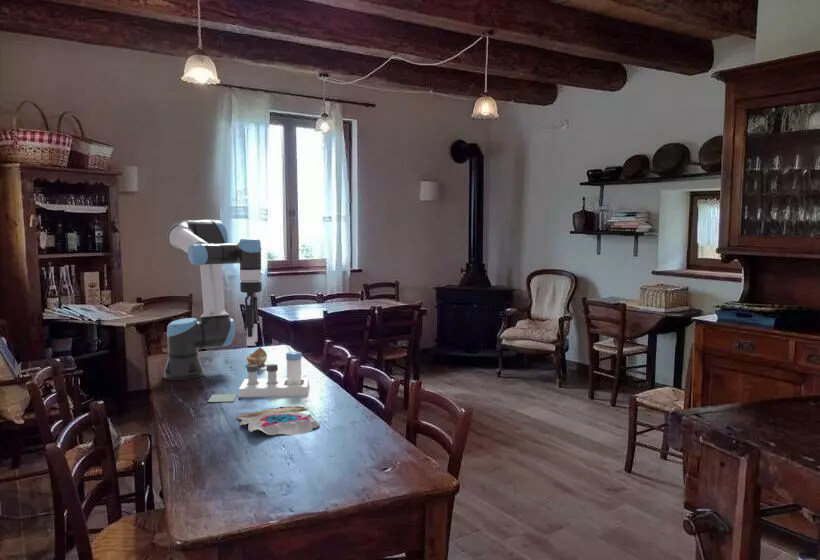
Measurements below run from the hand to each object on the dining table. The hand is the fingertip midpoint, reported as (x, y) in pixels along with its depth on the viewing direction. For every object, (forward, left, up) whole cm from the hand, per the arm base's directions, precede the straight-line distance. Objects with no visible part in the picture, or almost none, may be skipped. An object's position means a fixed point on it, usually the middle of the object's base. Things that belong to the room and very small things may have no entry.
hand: (252, 343), depth 220 cm
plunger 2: (0, +7, -15) cm, 17 cm away
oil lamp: (-48, -5, -19) cm, 52 cm away
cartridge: (0, +15, -18) cm, 23 cm away
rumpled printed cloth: (+32, +12, -20) cm, 40 cm away
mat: (+5, -10, -19) cm, 22 cm away
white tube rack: (0, +8, -19) cm, 21 cm away
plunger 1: (0, 0, -15) cm, 15 cm away
